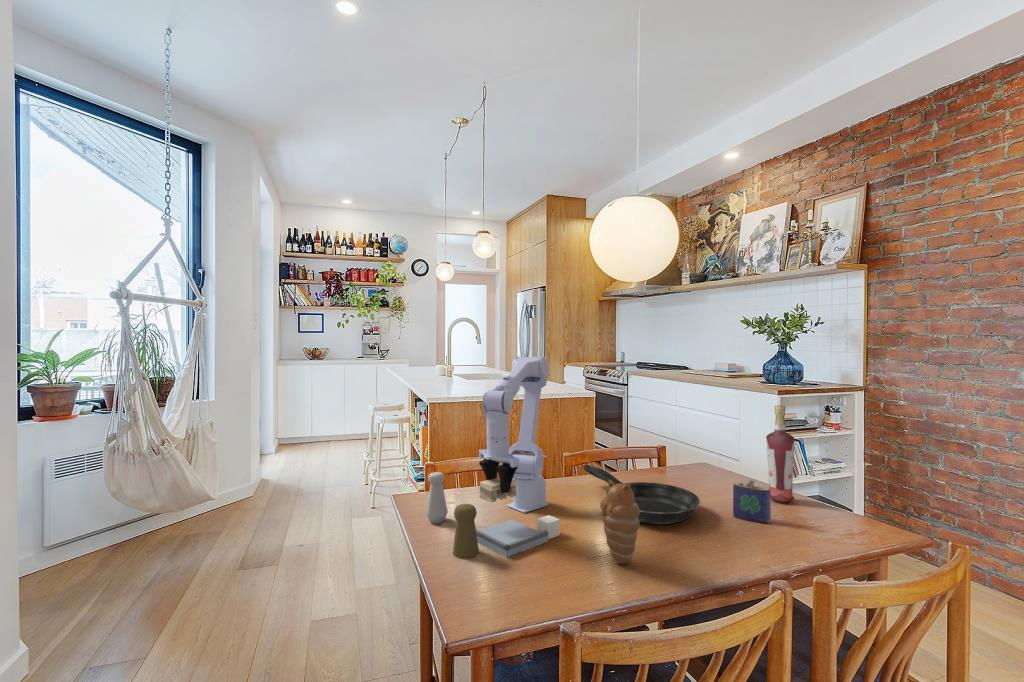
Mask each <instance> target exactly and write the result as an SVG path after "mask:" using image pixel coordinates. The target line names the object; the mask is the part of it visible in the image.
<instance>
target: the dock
mask: <svg viewBox="0 0 1024 682" xmlns="http://www.w3.org/2000/svg"><path fill="white" fill-rule="evenodd" d="M476 535H477V542H478V544H480V545H482V546H484V547H486V548H487V549H489V550H491V549H492V550H491V551H493V550H494V552H495V551H496V552H495V553H497V552H498V553H497V554H499V553H500V554H499V555H501V554H502V555H501V556H503V557H505V556H506V557H507V558H509V557H508V556H510V557H512V556H514V555H513V554H515V555H517V554H520V553H522V552H521V551H523V552H525V551H527V550H526V549H528V550H530V549H533V548H535V547H538V546H541V545H543V544H546V543H548V542H549V539H548V531H546V530H545V531H543V532H539V531H537V529H535V528H532V527H529V526H527V525H525V524H523V523H521V522H518V521H516V520H514V519H508V520H505V521H502V522H499V523H496V524H493V525H490V526H487V527H484V528H481V529H477V528H476ZM545 542H546V543H545ZM542 543H543V544H542ZM540 544H541V545H540ZM537 545H538V546H537ZM534 546H535V547H534ZM532 547H533V548H532ZM529 548H530V549H529ZM524 550H525V551H524ZM519 552H520V553H519ZM516 553H517V554H516ZM511 555H512V556H511ZM506 557H505V558H506Z"/></svg>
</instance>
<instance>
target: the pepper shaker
mask: <svg viewBox="0 0 1024 682" xmlns="http://www.w3.org/2000/svg"><path fill="white" fill-rule="evenodd" d="M477 513H478V512H477V509H476V506H474V504H471V503H462V504H458V505H457V506H456V507H455V508H454V511H453V514H454V515H453V517H454V519H455V521H456V523H455V531H454V539H453V540H454V541H453V547H452V548H453V551H452V556H454V557H456V558H457V559H464V558H466V559H472V558H475V557H476V555H477V556H479V553H480V549H479V543H478V542H477V535H476V529H477V528H476V522H475V520H476V517H477ZM474 556H475V557H474ZM471 557H472V558H471Z"/></svg>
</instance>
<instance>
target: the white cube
mask: <svg viewBox="0 0 1024 682" xmlns="http://www.w3.org/2000/svg"><path fill="white" fill-rule="evenodd" d="M560 520H561V519H559V518H557V517H555V516H551V515H549V514H548V515H545V516H541V517H539V518H537V519H536V530H537V531H539V532H543V531H545V530H546V531H548V540H550V538H551V539H553V538H555V537H558V535H559V536H560V535H561V530H560V529H561V527H560V525H561V523H560Z"/></svg>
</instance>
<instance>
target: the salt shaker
mask: <svg viewBox="0 0 1024 682" xmlns="http://www.w3.org/2000/svg"><path fill="white" fill-rule="evenodd" d="M427 477H428V482H429V483H430V485H429V490H428V491H429V492H428V498H427V504H426V511H425V512H426V513H425V514H426V517H427V518H428V520H429V522H430V523H431V524H441V523H444V522H445V520H446V517H447V515H448V512H449V511H448V506H447V501H446V496H445V491H444V486H443V482H444V481H445V474H444V473H443V472H440V471H436V472H435V471H433V472H431V473H429V474H428V476H427Z"/></svg>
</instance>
